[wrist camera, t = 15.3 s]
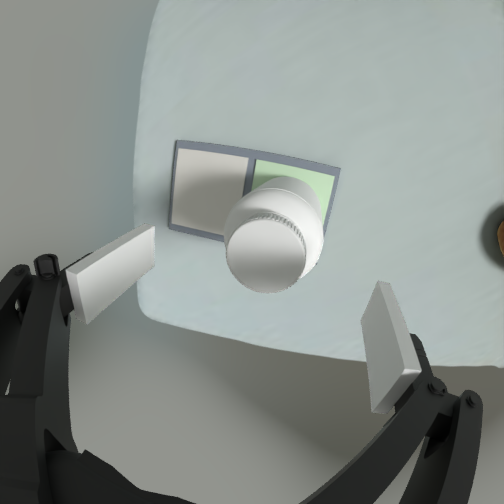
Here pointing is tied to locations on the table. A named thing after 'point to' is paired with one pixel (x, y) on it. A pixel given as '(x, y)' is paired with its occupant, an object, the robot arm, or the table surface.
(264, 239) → the pill bottle
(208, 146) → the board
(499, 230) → the bread roll
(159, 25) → the table surface
